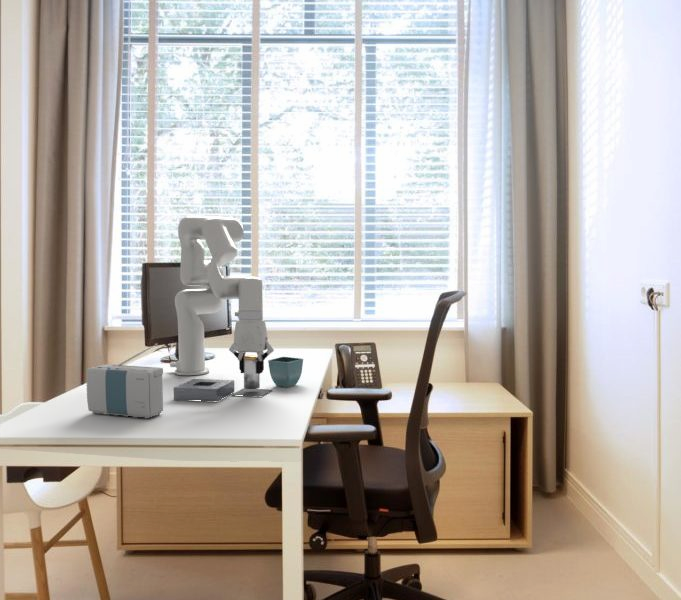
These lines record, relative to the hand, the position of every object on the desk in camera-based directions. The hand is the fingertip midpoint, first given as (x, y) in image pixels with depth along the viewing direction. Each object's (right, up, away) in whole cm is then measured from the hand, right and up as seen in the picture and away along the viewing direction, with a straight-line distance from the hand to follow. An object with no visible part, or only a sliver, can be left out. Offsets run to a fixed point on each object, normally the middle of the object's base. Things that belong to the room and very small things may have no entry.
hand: (251, 372), depth 199 cm
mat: (0, -7, 0) cm, 7 cm away
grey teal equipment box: (-31, -9, -25) cm, 41 cm away
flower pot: (+10, -6, +13) cm, 17 cm away
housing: (-14, -7, -4) cm, 16 cm away
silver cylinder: (0, -5, 0) cm, 5 cm away
